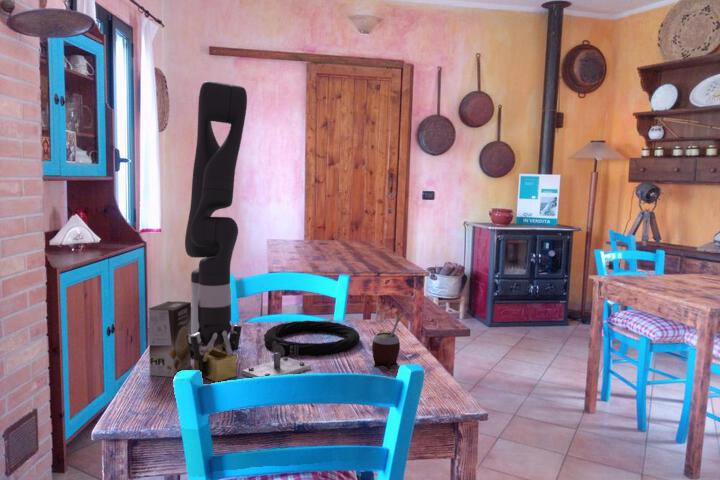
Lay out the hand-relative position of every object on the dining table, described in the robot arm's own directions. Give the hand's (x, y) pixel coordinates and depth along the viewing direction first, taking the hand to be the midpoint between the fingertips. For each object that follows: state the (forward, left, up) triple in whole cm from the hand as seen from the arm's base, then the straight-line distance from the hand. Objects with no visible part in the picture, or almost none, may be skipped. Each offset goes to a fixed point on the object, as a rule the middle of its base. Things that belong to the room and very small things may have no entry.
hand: (214, 372), depth 131 cm
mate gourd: (+25, +34, -1) cm, 42 cm away
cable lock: (-3, +34, -1) cm, 34 cm away
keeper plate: (+8, +12, -1) cm, 15 cm away
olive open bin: (0, 0, 0) cm, 0 cm away
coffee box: (-11, -5, -1) cm, 12 cm away
